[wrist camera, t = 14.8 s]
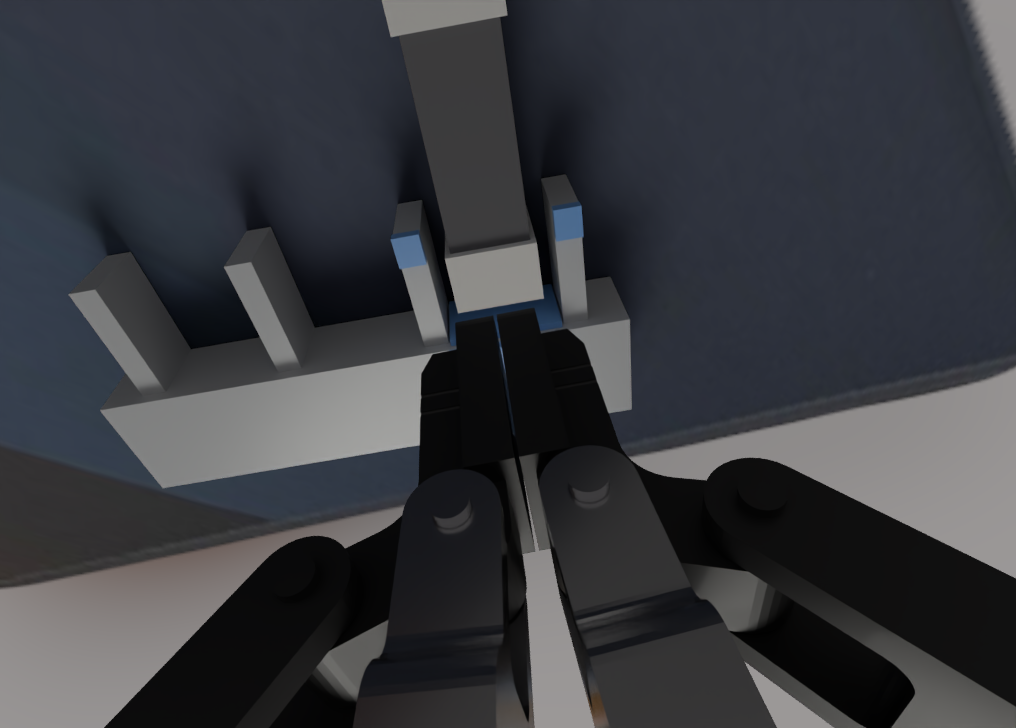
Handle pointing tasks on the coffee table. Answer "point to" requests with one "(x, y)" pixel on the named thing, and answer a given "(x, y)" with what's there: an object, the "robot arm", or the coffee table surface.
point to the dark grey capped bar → (470, 146)
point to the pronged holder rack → (319, 355)
